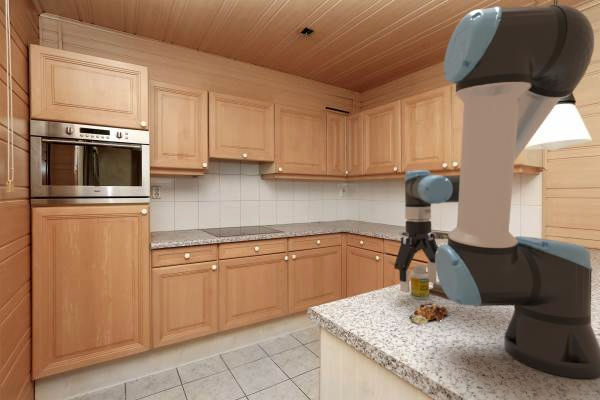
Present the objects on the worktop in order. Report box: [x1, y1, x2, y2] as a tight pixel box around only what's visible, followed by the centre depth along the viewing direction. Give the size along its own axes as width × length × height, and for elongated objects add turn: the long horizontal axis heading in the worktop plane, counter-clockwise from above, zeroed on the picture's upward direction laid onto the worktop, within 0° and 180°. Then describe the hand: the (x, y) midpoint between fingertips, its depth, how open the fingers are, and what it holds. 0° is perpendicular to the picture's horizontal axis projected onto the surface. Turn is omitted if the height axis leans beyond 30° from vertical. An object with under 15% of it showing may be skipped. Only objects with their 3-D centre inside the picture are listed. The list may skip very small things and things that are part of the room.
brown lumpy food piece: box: [408, 301, 449, 325], centre depth 80 cm, size 7×12×4 cm, turn 133°
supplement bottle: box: [410, 264, 430, 301], centre depth 95 cm, size 5×5×10 cm
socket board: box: [429, 280, 450, 301], centre depth 98 cm, size 12×9×3 cm
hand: (419, 287), depth 96 cm, fingers open, 13 cm apart
